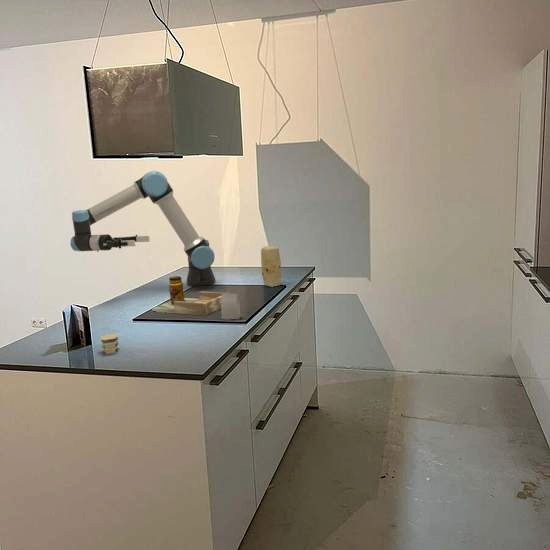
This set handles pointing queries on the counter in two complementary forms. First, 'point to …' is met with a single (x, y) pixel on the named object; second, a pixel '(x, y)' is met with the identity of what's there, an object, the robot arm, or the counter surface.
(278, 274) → the food model
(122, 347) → the counter surface
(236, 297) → the tea bag
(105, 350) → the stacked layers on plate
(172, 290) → the condiment
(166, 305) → the open-front wooden tray
